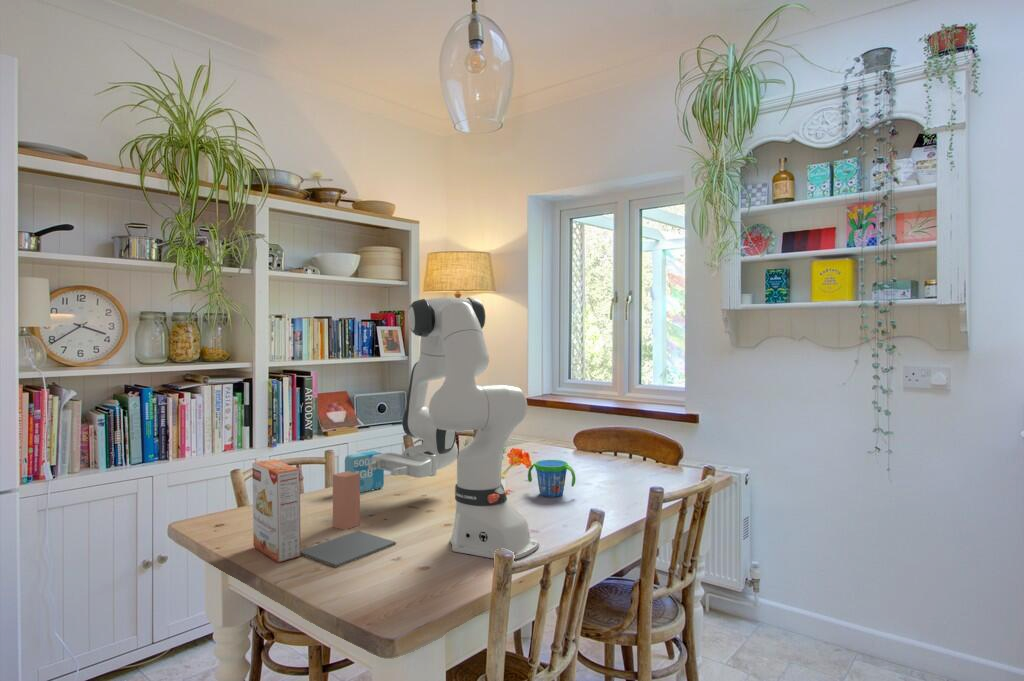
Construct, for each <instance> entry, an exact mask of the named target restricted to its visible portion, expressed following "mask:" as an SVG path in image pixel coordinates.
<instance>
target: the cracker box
mask: <svg viewBox="0 0 1024 681" xmlns="http://www.w3.org/2000/svg"><path fill="white" fill-rule="evenodd" d="M251 464H252V466H251V467H252V468H251V469H252V520H253V521H252V522H253V523H252V526H253V530H252V531H253V537H252V538H253V547H254V548H255V549H257V550H259V551H260V553H261V552H262V553H263V554H265V555H266V556H267V557H269V558H270V559H272V561H273V560H274V561H275V562H276V561H277V562H276V563H278V562H279V563H283V562H286V561H288V560H289V559H290V560H293V559H296V557H297V558H300V557H301V556H302V555H301V550H302V547H301V544H302V543H301V542H302V541H301V538H302V537H301V536H302V534H301V470H300V468H298V467H295V466H293V465H289V464H287V463H284V462H282V461H280V460H276V459H269V460H268V459H267V460H260V461H256V462H253V463H251ZM282 561H283V562H282Z"/></svg>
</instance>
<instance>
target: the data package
mask: <svg viewBox="0 0 1024 681" xmlns="http://www.w3.org/2000/svg"><path fill="white" fill-rule="evenodd" d="M377 454H382V452H379V451H375V450H371V451H370V450H369V451H365V452H359V453H358V452H357V453H352V454H351V453H350V454H348V455H346V456H345V459H344V472H346V471H350V472H354V473H359V474H360V492H363V493H365V492H364V491H367V492H369V491H368V490H372V489H377V488H381V489H382V488H383V487H384V485H385V475H384V474H385V473H384V471H385V470H381V469H377V468H376V470H369V469H368V465H369V464H370V463H371V460H372V456H373V455H377ZM377 490H378V489H377ZM372 491H373V490H372Z"/></svg>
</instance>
